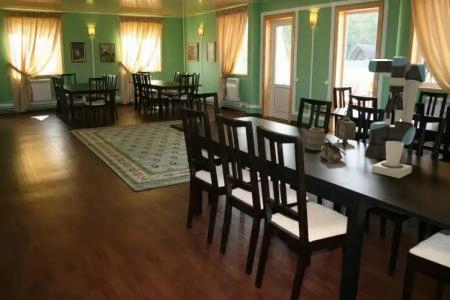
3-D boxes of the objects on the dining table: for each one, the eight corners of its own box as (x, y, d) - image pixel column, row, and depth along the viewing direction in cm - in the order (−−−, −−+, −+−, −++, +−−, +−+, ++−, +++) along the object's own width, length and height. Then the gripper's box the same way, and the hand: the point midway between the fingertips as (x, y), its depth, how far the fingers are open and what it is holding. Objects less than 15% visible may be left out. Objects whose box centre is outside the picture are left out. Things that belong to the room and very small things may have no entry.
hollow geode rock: (325, 160, 269) (311, 144, 267) (340, 148, 266) (326, 131, 265) (332, 170, 241) (316, 152, 240) (349, 157, 239) (333, 139, 237)
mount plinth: (371, 171, 226) (372, 164, 225) (384, 166, 237) (384, 159, 236) (399, 178, 215) (400, 170, 214) (411, 172, 226) (412, 165, 225)
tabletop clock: (334, 141, 305) (337, 109, 299) (345, 141, 307) (347, 109, 302) (344, 145, 292) (347, 112, 286) (355, 145, 294) (358, 112, 288)
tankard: (326, 150, 277) (327, 129, 273) (308, 150, 277) (309, 129, 273) (320, 144, 296) (321, 124, 293) (303, 143, 296) (304, 124, 293)
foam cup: (400, 163, 228) (403, 141, 225) (401, 167, 219) (404, 145, 216) (383, 162, 231) (385, 140, 228) (383, 166, 222) (386, 143, 219)
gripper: (394, 87, 206) (390, 126, 212) (412, 84, 223) (407, 120, 229) (380, 86, 211) (376, 124, 217) (398, 83, 229) (394, 119, 234)
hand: (392, 122), depth 223 cm, fingers open, 13 cm apart
